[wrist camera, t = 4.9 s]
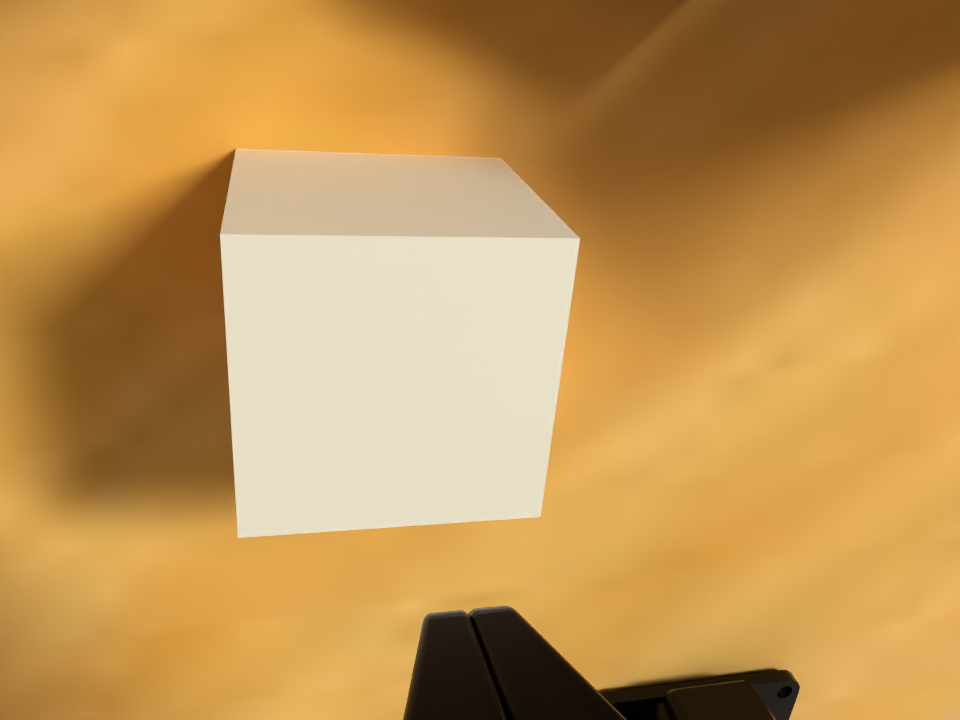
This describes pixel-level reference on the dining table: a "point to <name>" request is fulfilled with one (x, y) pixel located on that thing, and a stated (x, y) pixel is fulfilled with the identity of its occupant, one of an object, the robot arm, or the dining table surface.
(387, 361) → the cream block
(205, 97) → the dining table surface
